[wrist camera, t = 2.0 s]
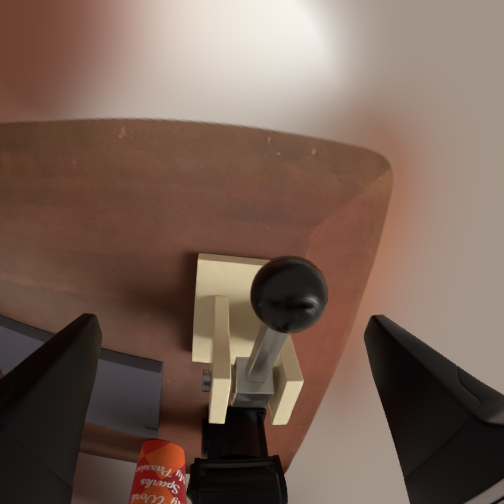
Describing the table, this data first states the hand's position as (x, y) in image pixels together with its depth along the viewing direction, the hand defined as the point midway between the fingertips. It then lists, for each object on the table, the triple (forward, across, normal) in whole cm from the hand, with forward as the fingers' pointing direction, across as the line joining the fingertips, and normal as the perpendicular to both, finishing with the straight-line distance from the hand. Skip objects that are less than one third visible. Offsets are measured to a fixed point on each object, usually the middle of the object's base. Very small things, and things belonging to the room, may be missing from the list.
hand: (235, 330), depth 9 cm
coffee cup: (+11, +9, +34) cm, 37 cm away
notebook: (+12, +18, +20) cm, 29 cm away
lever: (+5, -2, +4) cm, 7 cm away
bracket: (+13, -1, +10) cm, 16 cm away
